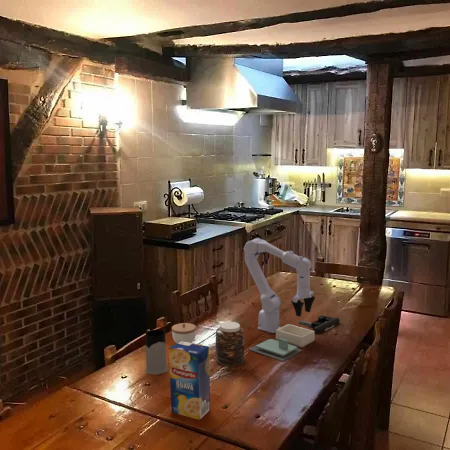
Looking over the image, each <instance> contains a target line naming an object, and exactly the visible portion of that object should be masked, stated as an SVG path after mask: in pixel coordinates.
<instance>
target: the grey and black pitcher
mask: <svg viewBox="0 0 450 450" xmlns="http://www.w3.org/2000/svg"><path fill="white" fill-rule="evenodd" d="M145 366H146V367H145V373H146V372H147V373H146V374H148V375H161V374H165V373H167V371H168V370H169V368H168V365H167V342H166V331H165V330H162V329H151V330H150V329H147V330H146V332H145Z"/></svg>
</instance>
